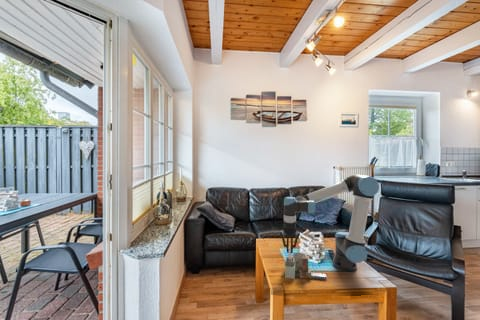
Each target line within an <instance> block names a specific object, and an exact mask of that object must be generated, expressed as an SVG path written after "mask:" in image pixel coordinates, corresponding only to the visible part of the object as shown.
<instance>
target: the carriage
mask: <svg viewBox="0 0 480 320" xmlns="http://www.w3.org/2000/svg"><path fill="white" fill-rule="evenodd" d="M299 273H300V277H299V279H308V280H312V278H311V273H312V269H311V267H309V256H308V255H306V256H302V267H299Z"/></svg>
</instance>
